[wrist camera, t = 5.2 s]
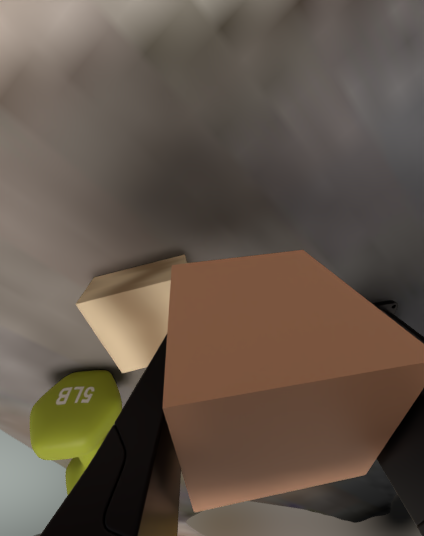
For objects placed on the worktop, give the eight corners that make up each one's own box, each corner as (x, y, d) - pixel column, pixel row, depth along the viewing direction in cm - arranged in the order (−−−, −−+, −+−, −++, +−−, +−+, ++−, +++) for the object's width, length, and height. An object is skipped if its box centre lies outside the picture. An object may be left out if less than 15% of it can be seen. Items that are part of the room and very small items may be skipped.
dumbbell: (48, 366, 23) (-2, 449, 16) (128, 361, 24) (110, 436, 17) (81, 445, 30) (55, 522, 24) (140, 438, 31) (130, 510, 25)
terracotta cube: (302, 249, 8) (443, 359, 4) (288, 342, 11) (365, 474, 6) (171, 264, 8) (163, 407, 3) (187, 358, 10) (194, 512, 6)
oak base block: (184, 253, 19) (185, 276, 15) (204, 320, 23) (209, 350, 19) (95, 275, 19) (75, 304, 15) (131, 339, 23) (122, 373, 19)
